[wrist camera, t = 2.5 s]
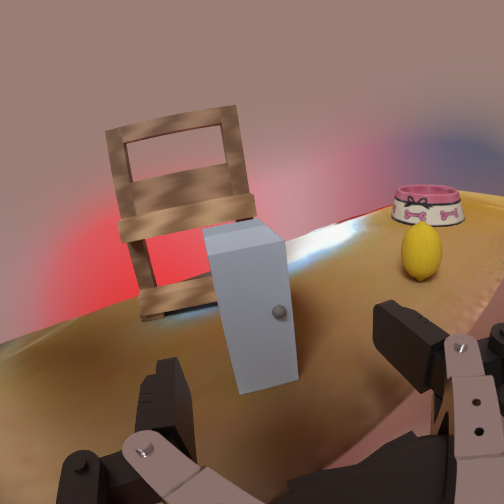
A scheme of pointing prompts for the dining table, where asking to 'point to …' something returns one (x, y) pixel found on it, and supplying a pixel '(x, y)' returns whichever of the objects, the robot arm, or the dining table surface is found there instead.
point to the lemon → (421, 251)
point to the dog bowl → (427, 205)
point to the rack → (177, 202)
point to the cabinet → (254, 302)
